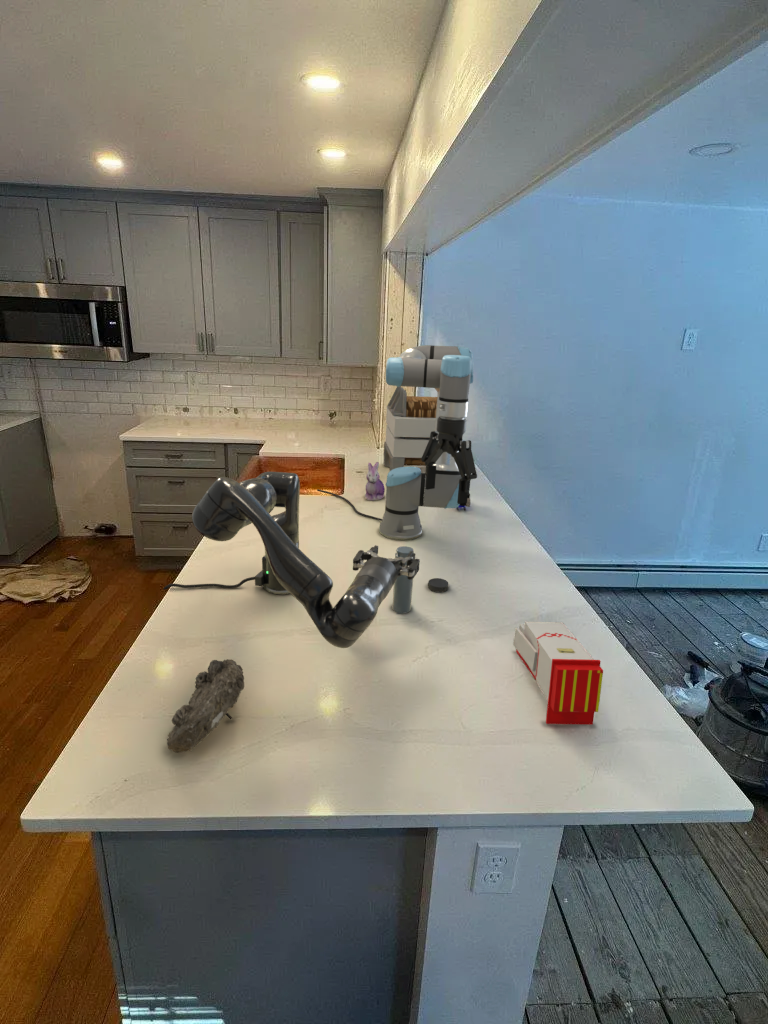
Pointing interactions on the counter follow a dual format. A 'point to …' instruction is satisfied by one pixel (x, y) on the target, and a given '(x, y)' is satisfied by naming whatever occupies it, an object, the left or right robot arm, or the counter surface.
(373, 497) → the figurine
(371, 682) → the counter surface
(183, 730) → the fossil
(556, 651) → the toy
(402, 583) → the jar
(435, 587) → the lid
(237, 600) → the counter surface
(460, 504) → the figurine character
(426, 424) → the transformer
